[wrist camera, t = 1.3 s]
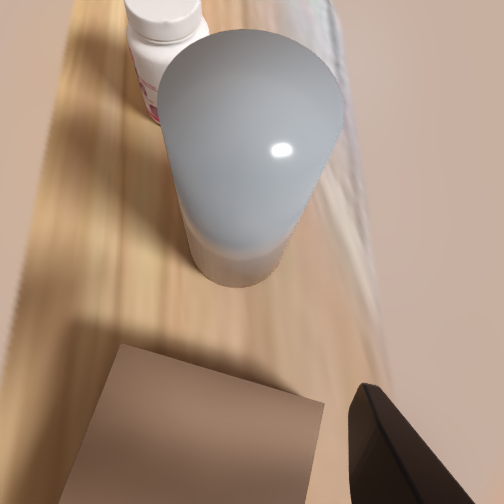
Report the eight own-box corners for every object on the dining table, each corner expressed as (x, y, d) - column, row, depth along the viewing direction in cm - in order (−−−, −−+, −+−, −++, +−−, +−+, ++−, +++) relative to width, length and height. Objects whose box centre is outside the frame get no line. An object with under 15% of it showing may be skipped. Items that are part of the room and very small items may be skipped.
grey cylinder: (270, 299, 23) (323, 207, 11) (176, 272, 23) (127, 151, 11) (292, 214, 25) (359, 56, 13) (206, 189, 26) (192, 10, 13)
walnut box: (260, 615, 18) (270, 676, 14) (62, 553, 18) (21, 597, 15) (307, 400, 22) (324, 403, 18) (138, 350, 22) (121, 342, 18)
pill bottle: (133, 95, 28) (97, -21, 20) (190, 69, 29) (177, -51, 21) (167, 143, 27) (143, 40, 19) (225, 113, 28) (225, 4, 20)
